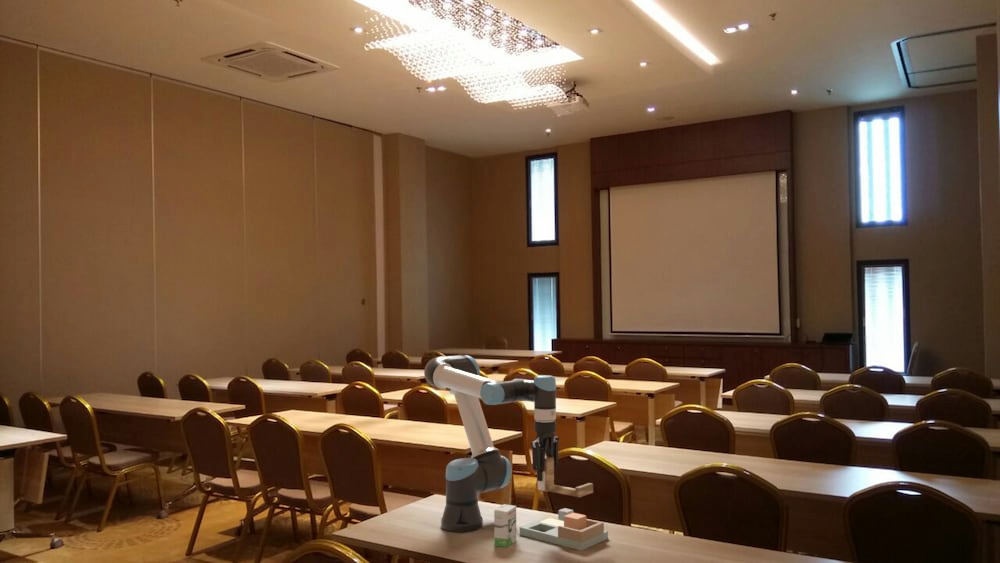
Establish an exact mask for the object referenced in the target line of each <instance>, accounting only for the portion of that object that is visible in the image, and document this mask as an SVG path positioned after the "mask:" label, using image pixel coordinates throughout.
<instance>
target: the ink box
mask: <svg viewBox="0 0 1000 563" xmlns="http://www.w3.org/2000/svg"><path fill="white" fill-rule="evenodd" d="M493 513H494V514H493V517H494V519H493V523H494V524H493V526H494V528H493V529H494V532H493V533H494V534H493V535H494V536H493V537H494V542H493V544H494V545H493V546H495V547H503V548H504V547H505V548H508V547H510V546H511V545H512V544H513V543H514V542H516V541H517V505H512V504H505V503H504V504H502V505H499V506H498V507H496V508H495V509H494V511H493Z"/></svg>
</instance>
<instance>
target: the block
mask: <svg viewBox="0 0 1000 563" xmlns="http://www.w3.org/2000/svg"><path fill="white" fill-rule="evenodd" d="M586 519H587V515H585V514H581V513H578V512H573V513H571V514H568V515H566V516H564V527H568V528H572V529H576V530H582V529H584V528H587V526H586Z"/></svg>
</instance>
